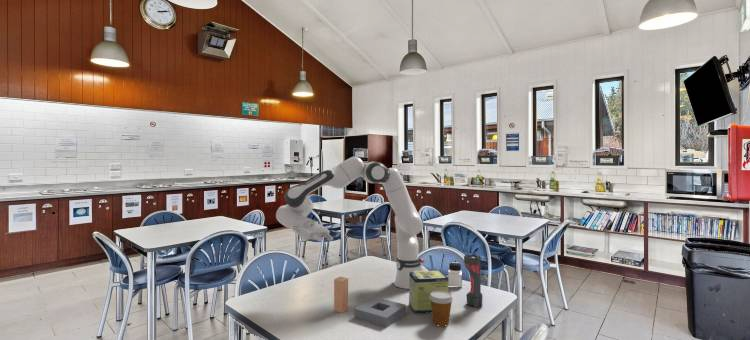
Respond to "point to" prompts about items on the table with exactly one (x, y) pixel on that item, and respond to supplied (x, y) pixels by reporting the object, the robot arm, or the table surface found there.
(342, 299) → the plug block
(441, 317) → the disposable coffee cup
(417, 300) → the protein box
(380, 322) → the socket block
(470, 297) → the flashlight
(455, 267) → the medicine bottle
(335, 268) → the table surface
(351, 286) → the table surface
